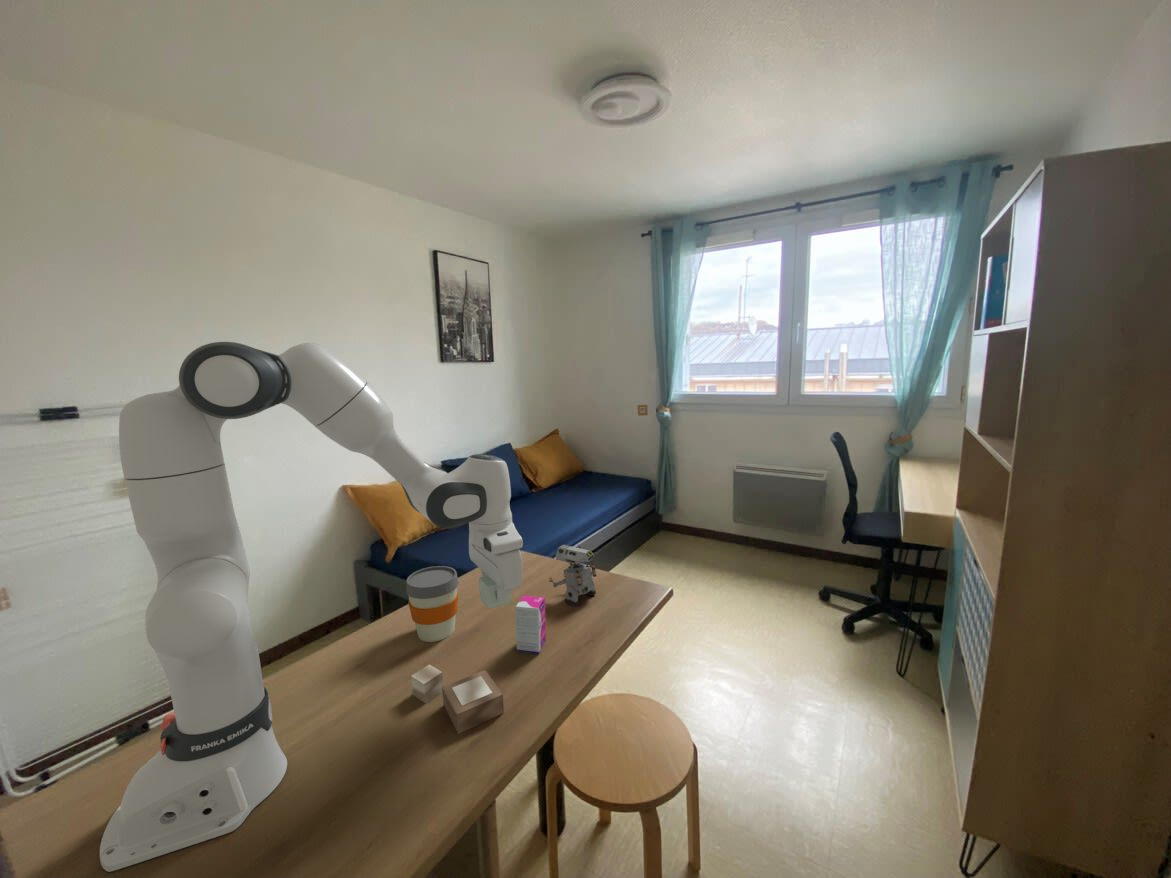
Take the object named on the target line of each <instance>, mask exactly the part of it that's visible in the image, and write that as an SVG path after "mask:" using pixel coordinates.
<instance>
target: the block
mask: <svg viewBox="0 0 1171 878" xmlns="http://www.w3.org/2000/svg"><path fill="white" fill-rule="evenodd" d="M410 679H411V689H412V690H411V691H412V695H413V697H415V698H417V699H418V700H420V701H421V702H423V703H424V704H427V703H429V702H430V701H432V700H433V699H435V698H436V697H437V696H438V695H440V694H443V692H442V687H443V686H444V676H443V671H441V670H440V669H438V668H437V667H434V666H433V665H431V664H428V665H426V666H424V667H423V668H422V669H420V670H418V671H416V672H415V673H413V674H412V675H410Z"/></svg>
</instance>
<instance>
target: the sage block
mask: <svg viewBox="0 0 1171 878" xmlns="http://www.w3.org/2000/svg"><path fill="white" fill-rule="evenodd" d="M478 586H479V587H478V590H479V600H480V601H481V602H482V604H483V605H484V606H485V607H486V608H487V609H488V610H491V609H494V608H495V609H496V608H498V607H501V606H504V605H508V604H511V603H512V590H509V591H506V600H504V601H498V600H497V599H496V595H495V591H497V586H496V583H495V582H494V581H493V580H492V579H491V578H490V577H489V576H488V575H487V576H483V577H482V576H480V577H478Z"/></svg>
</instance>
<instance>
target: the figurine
mask: <svg viewBox="0 0 1171 878" xmlns="http://www.w3.org/2000/svg"><path fill="white" fill-rule="evenodd" d="M594 556H595V553H594V552H592V551H591V550H588V549H584V548H581V546H580V545H578V547H575V546H571V545H566V544H562V545H560V546H559V547H558V548H557V551H556V554H555V560H557V561H561V562H564V563H565V562H566V563H569V566H568V567H567V568H565V569H563V577H564V578H562V579H561V580H558V581H556V582H555V581H554V580H553V579H552V578H549V581H548V582H550V583H552V584H553V585H552V587H553V588H557V587H558V586H562V585H565V587H566V591H565V598H564V602H565V604H566V603H567V604H568V605H571V606H572V605H574V606H576V607H578V606H579V605H580V603H579V600H578V599H579V598H578V596H580V595H586V593H587V594H588V595H589V594H591V595H593V596H595V595H596V594H597V592H596V586H595V585H596V584H595V582H594V579H593V577H594V578H595V577H597V572H596V566H595V564H594V563H593V562H590V561H591V560H593V559H594ZM583 562H586V563H587V564H584V563H583ZM590 564H592V565H591V567H590ZM591 595H590V596H591ZM574 606H573V607H574Z"/></svg>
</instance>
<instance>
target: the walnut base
mask: <svg viewBox="0 0 1171 878" xmlns="http://www.w3.org/2000/svg"><path fill="white" fill-rule="evenodd" d="M442 702H443V703H442V704H443V707H444V708H445V711H446V713H447V714H448V717H449V719H450V721H451V723H452V724H453V726H454V728H455V730H456V732H457V734H458V735H459V734H461V733H463V732H466V731H468V730H470V729H472V728H474V727H477V726H479V725H481V724H483V723H485V722H487V721H490V720H491V719H494V718H496V717H498V716H500V715H504V713H505V709H504V707H505V706H504V694H503V692H501V690H500V688H499V687H498V685H497V684H496V683H495V682H494V680H493V678H492V677H491V676H490V675H489V673H488V672H487V670H486V669H484V670H481V671H479V672H476V673H473V674H472V675H469V676H466V677H465V678H464V677H463V678H461V679H458V680H457V681H454V682H451V683H449V684H446V685H443V687H442Z"/></svg>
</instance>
